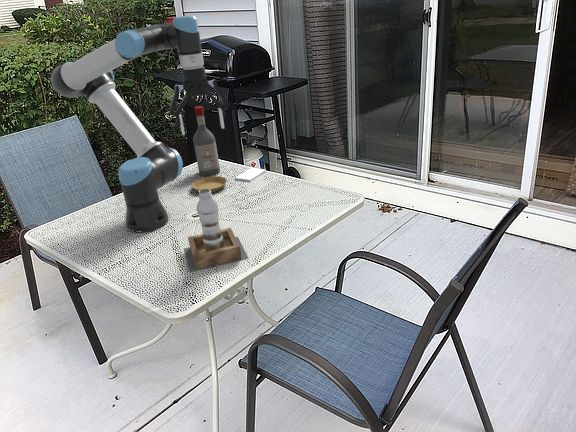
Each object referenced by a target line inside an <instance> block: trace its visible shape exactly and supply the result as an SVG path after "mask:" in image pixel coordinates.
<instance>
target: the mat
mask: <svg viewBox="0 0 576 432" xmlns="http://www.w3.org/2000/svg"><path fill="white" fill-rule="evenodd" d="M235 238H236V240H237V242H238V244H239V246H240V250H241V257H242V259H238V260H234V261H229V262H225V263H221V264H217V265H212V266H208V267H204V268H200V269H196V267H195V264H194V260H193V257H192V253H191V250H190V246H189V247H185V248H183V251H184V255H185V259H186V263H187V265H188V271H189V273H195V272H198V271H203V270H206V269H212V268H215V267H220V266H224V265H228V264H233V263H237V262H242V261H245V260H249V259H250V258H249V256H248V254H247V252H246V250H245V248H244V247H243V244H242V243H241V241H240V238H239V237H238V236H235Z"/></svg>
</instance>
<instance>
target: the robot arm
mask: <svg viewBox="0 0 576 432" xmlns="http://www.w3.org/2000/svg"><path fill="white" fill-rule="evenodd" d="M200 34H201V33H200V28H199V23H198V19H197V17H196V16H194V15H183V16H175V17H173V19H172V23H171V24H150V25H147V26H146V27H141V28H134V29H127V30H124V31H122V32H119V33H118V34H117V35H116V38H114V39H113V40H110V41H109V42H106V43H105V44H103V45H102V46H100V47H98V48H97V49H94V50H92V51H91V52H89V53H88V54H85V55H83V56H82V57H80V58H78V59H77V60H75V61H67V62H65V63H62V64H59V65H58V66H56V67H55V68H54V69H53V71H52V72H51V76H50V82H51V85H52V87H53V90H55V92H56V93H58V95H60V96H63V97H65V98H70V99H71V98H73V99H74V98H79V97H82V96H84V97H85V98H86V100H87V101H88V102H89V103H91V104H96V106H98V108H99V110H100V111H101V112H102V113H103V114H104V116H105V117H106V118H107V119H108V121H109V122H110V123H111V125H112V126H113V127H114V128H115V130H116V131H117V132H118V133H119V134H120V136H121V137H122V138H123V139H124V140H125V141H126V143H127V144H128V145H129V147H130V148H131V149H132V150H133V152H134V153H135V154H136V157H134V158H133V159H129V160H126V161H124V162H123V163H122V164H121V165H120V166H119V167H118V169H117V170H118V171H117V173H118V181H119V184H120V186H121V190H122V194H123V197H124V202H125V205H126V213H125V221H124V222H125V226H126V229H127V228H128V229H130V230H133V231H147V232H150V231H149V230H152V231H154V230H153V229H155V230H157V229H156V228H158V229H160V228H162V227H164V225H166V224H167V223H168V222H169V215H168V212H167V210H166V209H165V206H164V205H163V203H162V202H161V201H160V197H159V192H158V190H159V189H160V188H162V187H164V186H165V185H167V184H169V183H170V182H173V181H175V179H177V178H179V176H180V175H181V174H182V172H183V169H184V167H183V165H184V163H183V159H182V156H181V155H180V153H179V152H178V151H177V150H176V149H175V148H171V147H167V146H166V145H165V144H164V143H163V142H161V141H156V140H155V138H154V137H153V136H152V135H151V133H150V132H149V131H148V130H147V128H146V127H145V126H144V124H143V123H142V122H141V121H140V119H139V118H138V117H137V116H136V115H135V114H134V111H132V109H131V108H130V107H129V105H127V103H126V101H124V100H123V98H122V97H121V95H120V94H119V93H118V92H117V91H116V83H115V82H114V81H115V75H114V71H113V70H115V69H116V68H119V67H121V66H122V65H124V64H126V63H128V62H130V61H133V60H135V59H137V58H139V57H141V56H144V55H146V54H152V53H154V52H159V51H162V50H163V51H164V50H173V49H175V50H176V49H177V52H178V58H179V63H180V67H181V68H182V69H181V74H182V84H179V85H178V84H175V85H174V93H173V97H172V99H171V104H170V106H169V110H168V113H169V115H170V116H174V117H175V121H176V124H177V126H179V127H180V131H181V134H182V136H185V135H186V133H185V127H184V121H183V116H182V114H181V113H182V111H183V109H184V108H185V106H186V104H187V102H189V100H190V98H191V97H192V98H196V97H202V96H204V95H206V96H207V97H208V98H209V99H210V100H211V101H212V102H214V103H215V104H216V105H217V106H218V107H219V108H217V109H218V115H219V123H220V128H221V129H222V130H223V129H225V122H224V119H226V117H227V115H226V108H228V107H230V102H229V101H228V99H227V98H226V97H225V95H224V93H223V92H222V90H221V89H220V87H219V86H218V81H217V80H216V79H212V80H207V74H206V67H205V66H204V65H205V63H204V55H203V50H202V44H201V43H202V42H201V35H200ZM209 85H210V86H211V87H212V88H213V89H214V90H215V91H216V93H217V94H218V96H219V98H220V99H221V100H222V101H223V103H222V102H221V101H220V100H218V98H217V97H215V95H213V94H212V93H211V92H209V91H208V88H209ZM182 90H184V91H185V93H184V96H183V97H182V99H181V102H180V103H179V104H178V107H177V108H176V106H177V103H178V98H179V97H180V93H181V92H182ZM161 226H162V227H161ZM159 227H160V228H159ZM128 229H127V230H128Z"/></svg>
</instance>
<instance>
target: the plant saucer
mask: <svg viewBox="0 0 576 432" xmlns="http://www.w3.org/2000/svg"><path fill="white" fill-rule="evenodd" d="M227 181H228V179H227V178H226V177H225V176H224V177H223V176H220V175H219V176H218V175H211V176H204V177H202V178H199V179H197V180H194V181H193V182H192V183H191V188H192V189H193V190H195V191H196V192H198V193H199V191H200V190H202V189H210V190H211V194H212V193H215V192H218V191H220V190H221V189H223V188H224V187H225V185H226V184H227Z"/></svg>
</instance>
